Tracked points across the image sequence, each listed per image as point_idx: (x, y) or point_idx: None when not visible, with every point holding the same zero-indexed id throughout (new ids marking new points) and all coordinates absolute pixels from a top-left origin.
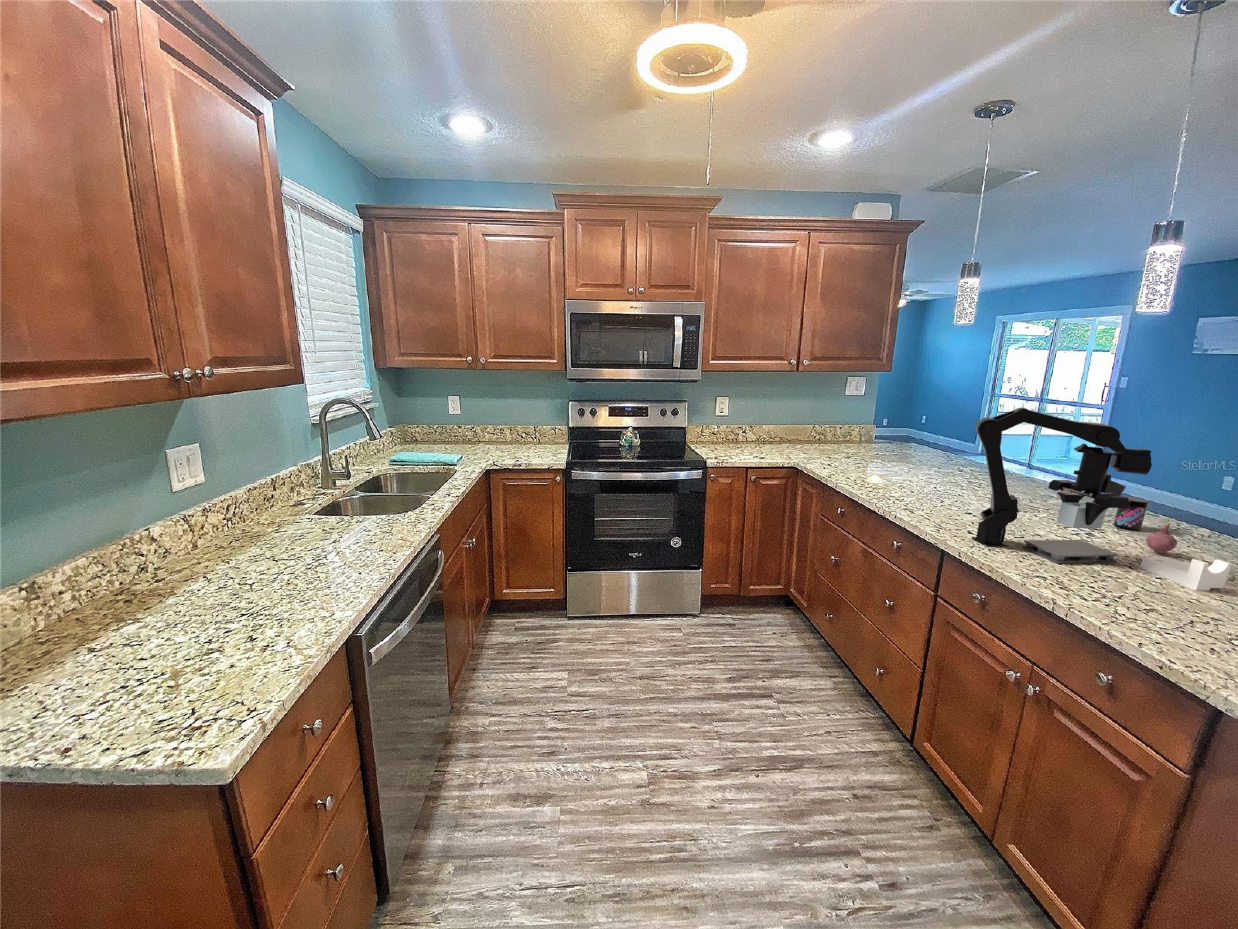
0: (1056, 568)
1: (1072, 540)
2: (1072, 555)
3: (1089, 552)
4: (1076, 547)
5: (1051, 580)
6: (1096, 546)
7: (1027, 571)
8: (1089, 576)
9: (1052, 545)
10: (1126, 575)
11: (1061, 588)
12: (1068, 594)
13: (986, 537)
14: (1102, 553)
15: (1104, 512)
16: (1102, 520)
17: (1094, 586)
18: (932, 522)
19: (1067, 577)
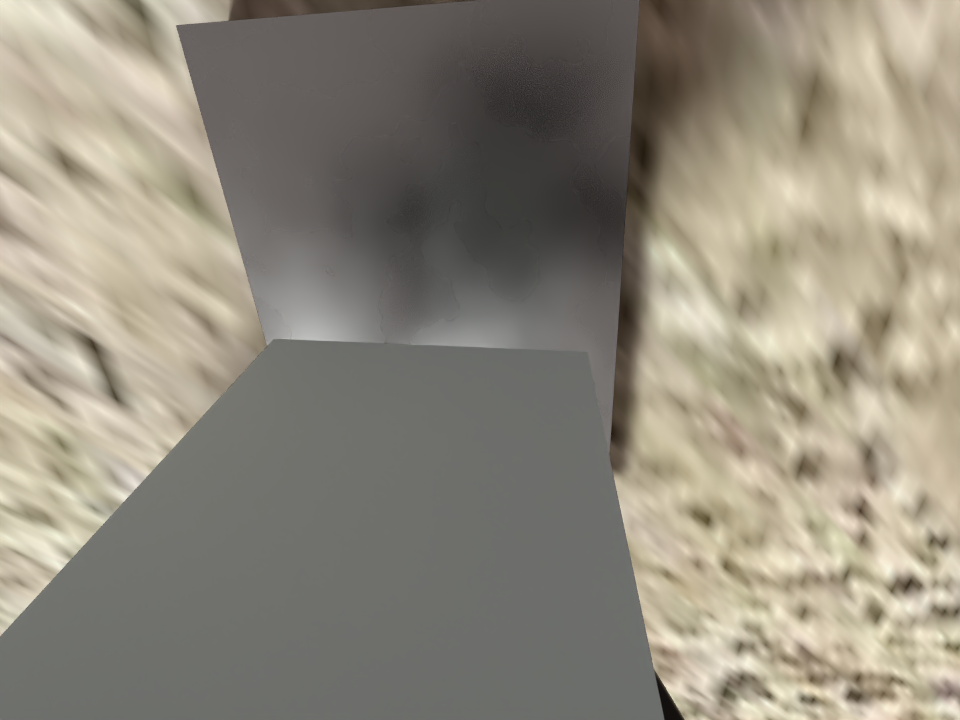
0: (657, 557)
1: (230, 146)
2: None
3: (562, 281)
4: (438, 289)
5: (779, 675)
6: (386, 11)
7: (668, 689)
8: (797, 483)
9: None
10: (870, 205)
11: (860, 698)
12: (915, 714)
13: None
14: (593, 163)
15: (643, 661)
16: (603, 460)
17: (906, 566)
18: None
19: (772, 595)
